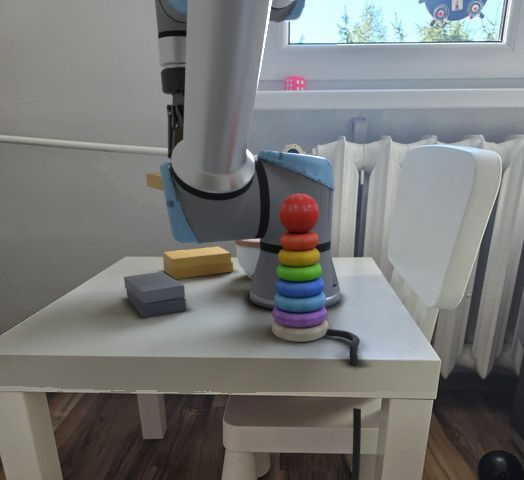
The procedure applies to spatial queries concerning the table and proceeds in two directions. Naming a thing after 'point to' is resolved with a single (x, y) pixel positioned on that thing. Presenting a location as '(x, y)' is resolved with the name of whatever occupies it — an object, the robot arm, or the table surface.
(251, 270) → the white bowl
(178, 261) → the mustard pile
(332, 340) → the table surface
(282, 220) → the stacking toy
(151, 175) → the mustard block
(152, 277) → the grey pile
